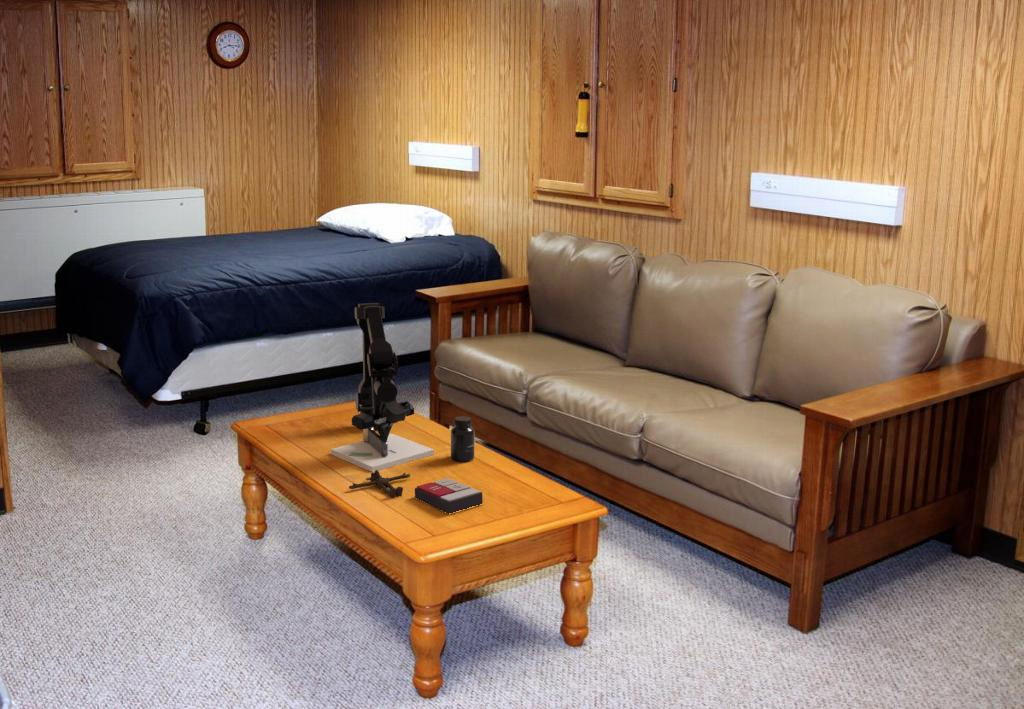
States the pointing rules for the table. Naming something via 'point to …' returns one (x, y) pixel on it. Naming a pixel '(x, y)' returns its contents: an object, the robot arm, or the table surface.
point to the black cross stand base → (383, 483)
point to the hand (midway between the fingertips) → (384, 443)
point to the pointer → (375, 441)
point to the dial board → (373, 460)
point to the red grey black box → (448, 495)
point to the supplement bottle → (462, 440)
